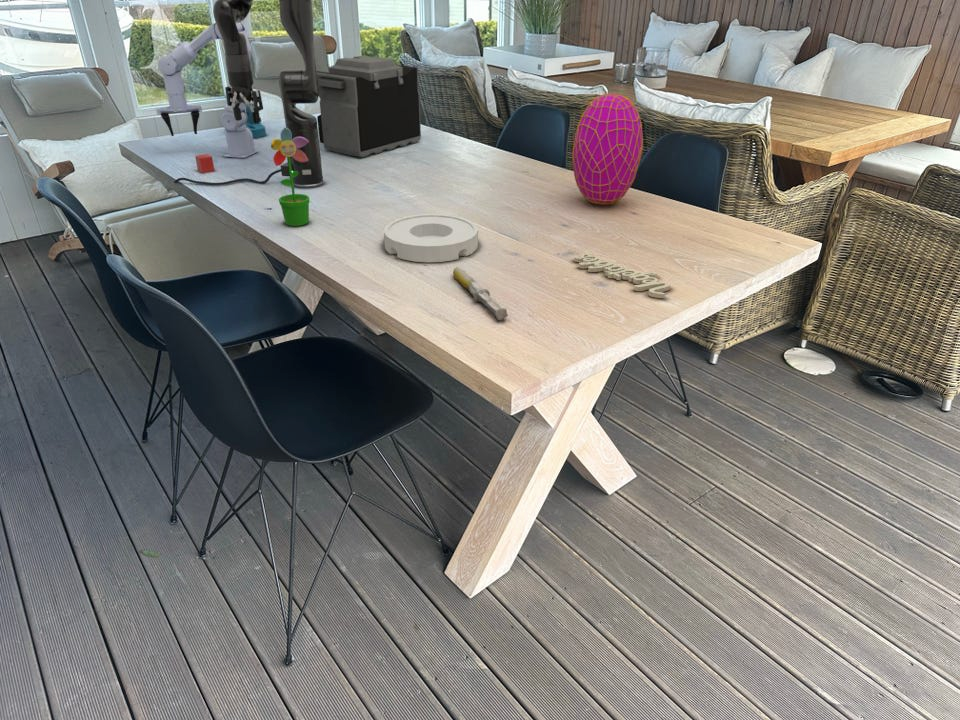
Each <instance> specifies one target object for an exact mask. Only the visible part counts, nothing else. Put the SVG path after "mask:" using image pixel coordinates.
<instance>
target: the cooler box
mask: <svg viewBox="0 0 960 720" xmlns="http://www.w3.org/2000/svg"><path fill="white" fill-rule="evenodd" d="M317 78H318V89H319V95H318V99H319V110H320V111H319V112H320V114H319V115H317V116H316V120H317V127H318V137H319V144H323V146H324V149H325V150H327V151H330V152H335V153H340V154H344V155H348V156H353V157H357V158H362V159H363V158H366V157H367V158H368V157H369V155H371V154H375V155H377V154H381V153H382V152H383V151H391V150H395V149H396V148H397V147H405V146H407V145H408V144H416V143H418V142H419V141H421V137H422V128H421V97H420V92H419V91H420V89H419V68H418V67H417V66H408V65H400V64H396V62H395V60H394V59H393V58H385V57H377V56H367V55H356V56H353V57H350V58H349V57H343V58H342V57H341V58H337V59H336V60H335V63H334V64H333V65H330V66H329V67H328V72H327V71H320V70H317Z"/></svg>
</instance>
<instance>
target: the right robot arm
mask: <svg viewBox="0 0 960 720" xmlns="http://www.w3.org/2000/svg"><path fill="white" fill-rule="evenodd" d="M253 3H254V0H216V1H215V2H214V3H213V6H212V15H213V19H214V23H216V25H217V27H218V30H219V32H220V35H221V37H222V39H223V40H222V44H223V51H224V58H225V59H224V60H225V62H224V63H225V67H226V74H227V80H228V84H229V86H225V88H224V89H225V97H226V98H225V99H226V103H227V105H228V106H231V107H232V108H233V111H234V117H235V120H237V121H239V120H242V116H241V110H240V108H239V107H240V104H241V103H245V104H246V105H247V106H248V107H249V108H250V109H251V111H252V119H253V123H254V124H259V123H260V122H261V116H260V111H263V110H264V104H263V99H262V95H261V91H260V90H259V89H257V90H253V85H254V76H253V69H252V63H251V59H250V58H249V54H248V48H247V41H246V37H245V35H244V34H242V33H240V32H239V31H238V29H237V26H236V23H240V22H242V23H243V21H245V19H246V18H247V17H248V15H249V13H250V11H251V8H252V7H253ZM278 3H279V4H278V5H279V19H280V23H281V25H282V27H283V29H284V31H285V32H286V34H287V35H288V36H289V38H290V39H291V41H292V43H293V44H294V45H295V47H296V49H297V51H298V52H299V54H300V56H301V57H302V61H303V63H304V69H282V70H281V71H280V72H279V75H278V87H279V92H280V93H279V94H280V97H281V104H282V108H283V109H282V110H283V116H284V123H285V128H288V129H289V130H290V131H291V134H292V139H293V138H295V137H299V136H300V137H304V138H305V139H307V140H308V141H309V143H307V144H306V145H305V146H303V147H301V148H297V149H299V150H301V151H302V152H304V153H305V155H306V156H307V158H308V161H307V162H298V161H296V160H295V159H293V158H292V157H290V160H291V168H292V172H294V171H297V172H299V174H298V175H297V176H296V177H294V178H293V183H294V187H296V188H300V189H301V188H303V189H310V188H317V187H320V186H322V185H324V184H325V182H324V175H323V167H322V157H321V147H320V139H319V130H318V120H317V116H314V115H313V114H310V113H307V112H305V111H303V110H301V109H300V108H298V107H297V106H296V104H297V105H298V104H299V105H301V104H302V105H303V104H307V105H308V104H309V105H310V104H316V103H318V100H319V96H318V95H319V89H318V78H317V71H318V69H317V62H316V53H315V52H316V51H315V39H314V37H315V36H314V12H313V10H314V9H313V0H278ZM230 85H231V86H230ZM230 98H231V99H232V101H230ZM252 105H253V106H254V107H255V108H254V107H253V106H252ZM286 161H287V162H284V163H282V164H281V165H280V169H277V170H274V171H273V172H270V173H269V174H268V176H267V177H266V179H265V180H261V181H259V180H256V179H254V178H248V177H247V178H237V179H232V180H228V181H222V182H221V181H220V182H209V181H199V180H195V179H190V178H187V177H178V178H176V179H175V180H174V181H173V183H174V184H178V182H180V181H185V182H189V183H192V184H197V185H205V186H225V185H230V184H233V183H239V182H250V183H251V182H252V183H255V184H259V185H260V184H261V185H263V184H266V183H268V182H269V181H270V179H271V178H272V177H273V176H274V175H276V174H277V173H281V176H282V177H288V178H290V173H289V165H288V158H287V157H286Z"/></svg>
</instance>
